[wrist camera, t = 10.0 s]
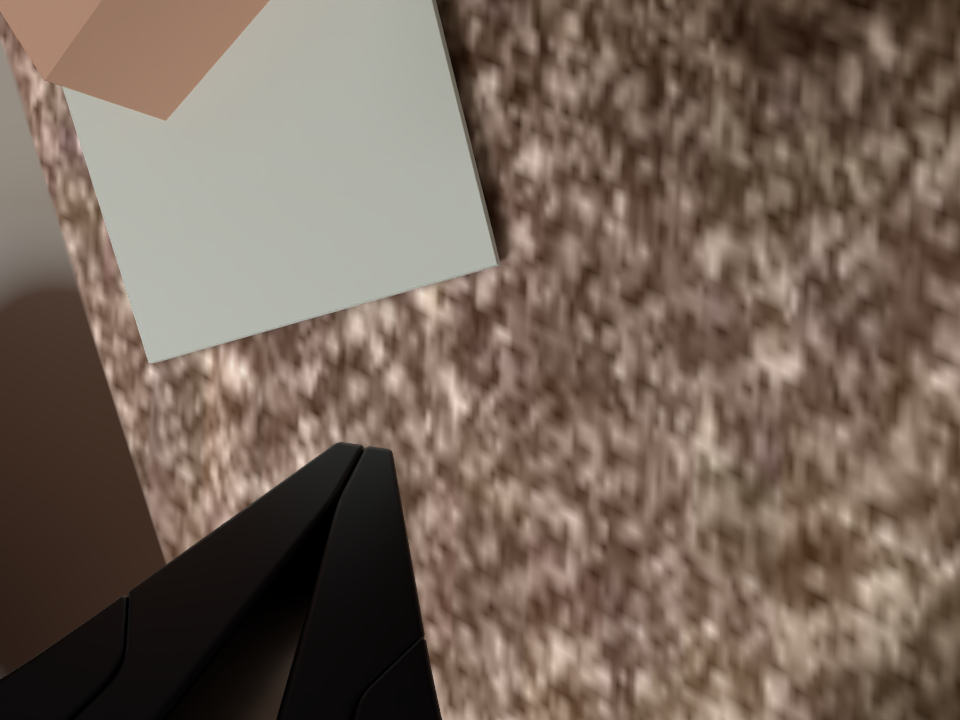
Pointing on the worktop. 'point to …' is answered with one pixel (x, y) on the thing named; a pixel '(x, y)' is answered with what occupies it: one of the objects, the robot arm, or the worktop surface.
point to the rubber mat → (291, 176)
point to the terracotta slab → (129, 45)
